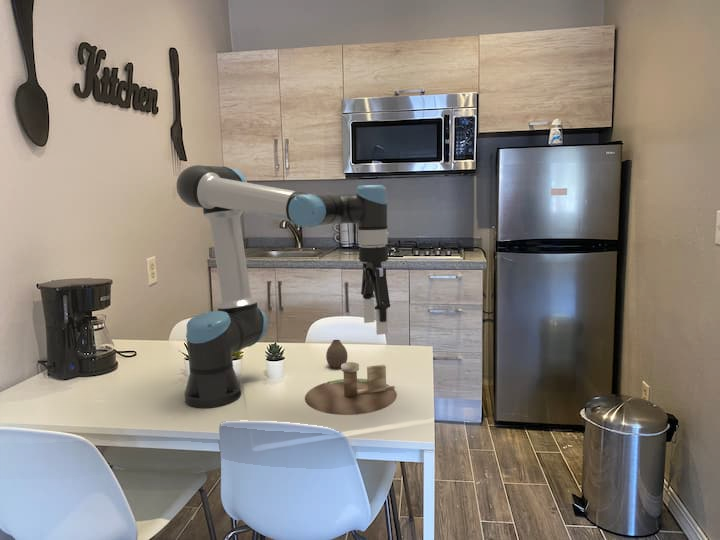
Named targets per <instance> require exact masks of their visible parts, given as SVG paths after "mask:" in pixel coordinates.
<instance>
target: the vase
mask: <svg viewBox="0 0 720 540" xmlns="http://www.w3.org/2000/svg"><path fill="white" fill-rule="evenodd" d="M326 362H327V364H328V366H329V367H331V368H333V369H341V365H342V364H343V363H348V351H347V348H346V347H345V346H344V345H343V343H342V342H341V340H340V339H332V342H331V344H330V345H329V346H328V348H327V351H326Z"/></svg>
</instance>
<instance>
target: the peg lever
mask: <svg viewBox="0 0 720 540" xmlns="http://www.w3.org/2000/svg"><path fill="white" fill-rule="evenodd" d="M340 369H341V372H343V379H344V395H345V396H347V397H353V396H356V395H357V394H365V393H372V392H379V391H386V390H387V389H394V390H395V385H389V386H388V387H386V384H387V366H386V365H385V364H377V365H370V366H369V365H368V366H366V373H367V375H366V376H367V378H366V379H367V382H368V389H361V390H357V379H358V371H359V370H360V365H359V363H357V362H353V361H351V362H350V361H347V362H346V363H343V364H342V365H341V368H340Z"/></svg>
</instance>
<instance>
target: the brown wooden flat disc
mask: <svg viewBox="0 0 720 540" xmlns="http://www.w3.org/2000/svg"><path fill="white" fill-rule="evenodd" d="M388 386H390V385H389V384H388V383H386V387H388ZM361 389H368V382H367V378H357V390H361ZM397 394H398V393H397V391H396V390H395V389H387V390H386V391H379V392H372V393H365V394H357V395H356V396H353V397H347V396H345V395H344V378H343V379H342V378H341V379H335V380H330V381H327V382H324V383H321V384H318V385H316V386H314V387H313V388H312V387H311V389H310V390H308V391H307V392H306V394H305V396H304V401H305V403H306V405H308V407H310V408H311V409H313V410H316V411H317V412H320V413H325V414H329V415H339V416H354V415H357V416H358V415H364V414H370V413H374V412H379V411H381V410H383V409H386V408H387V407H389V406H392V404H393V403H394V402H395V401H396V399H397V397H398V395H397Z"/></svg>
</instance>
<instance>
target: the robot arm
mask: <svg viewBox="0 0 720 540" xmlns="http://www.w3.org/2000/svg"><path fill="white" fill-rule="evenodd" d="M175 189H176V192H177V194H178V197H179V198H180V200H182V202H184V203H185V204H186V205H188V206H190V207H193V208H200V209H201V208H202V211H203V212H202V213H203V216H204V217H206V218H207V219H208V220H209V223H210V229H211V230H210V231H211V235H212V237H211V238H212V242H213V250H214V256H215V257H214V258H215V263H216V269H217V276H218V277H217V278H218V283H219V289H220V296H221V301H220V303H219V304H218V305H217V310H214V311H208V312H203V313H200V314H197V315H195V316H193V317H192V318H190V319H189V320H188V322H187V323H186V332H185V334H186V335H185V337H186V343H187V345H186V346H187V355H188V356H187V357H188V365H189V367H188V368H189V375H188V380H187V382H186V383H187V384H186V388H185V391H184V401H185V403H186V405H187V406H190V407H194V408H202V409H203V408H215V407H221V406H224V405H228V404H230V403H233V402H235V401H236V400H238V399H239V398H240V397H241V396H242V389H241V387H242V386H241V384H240V381H239V379H238V377H237V374H236V372H235V370H234V362H233V360H234V359H233V354H234V353H237V352H239V351H241V350H243V349H246V348H248V347H252V346H254V345H255V344H256V343H258V342H259V341H261V340H262V339H263V337H264V336H265V335H266V333H267V331H268V330H267V329H268V318H267V315H266V313H265V311H263V309H262V307H260V306H258V300H257V299H256V298H254V297H253V296H252V295H251V287H250V281H249V273H248V267H247V258H246V251H245V245H244V238H243V231H242V224H241V216H242V214H243V213H247V214H253V215H257V216H263V217H267V218H272V219H278V220H283V221H288V222H292V223H294V224H295V225H296V226H298V227H303V228H304V227H305V228H313V227H317V226H323V225H326V226H327V225H333V224H349V223H350V224H356V223H357V238H358V239H357V240H358V245H359V248H358V261H359V262H361V263H362V279H361V290H360V291H361V292H360V295H361V296H362V298H363V323H364V324H369V323H375V320H376V335H377V336H378V335H387V334H389V333H388V332H389V331H388V329H389V327H388V309H389V308H391V303H390V302H391V301H390V295H389V294H390V293H389V286H388V281H387V269H386V267H382V263H383V262H384V263H385V262H387V261H388V260H389V247H388V246H387V245H388V237H389V236H390V232H388V198H387V188H386V187H385V186H384V185H383V184H369V185H368V184H366V185H365V184H364V185H358V186H357V188H356V193H334V194H331V193H330V194H329V193H325V194H316V193H315V194H314V193H307V192H303V191H297V190H296V191H295V190H290V189H285V188H279V187H273V186H269V185H263V184H256V183H251V182H248V180H247V179H246V178H245V175H244V174H243V173H241V171H240V170H237V169H235V168H232V167H228V166H214V165H213V166H212V165H199V164H198V165H191V166H187V168H185V169H183V170H182V171H181V172H180V174H179V175H178V178H177V179H176V188H175ZM374 298H375V299H374ZM375 304H376V305H375Z"/></svg>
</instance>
